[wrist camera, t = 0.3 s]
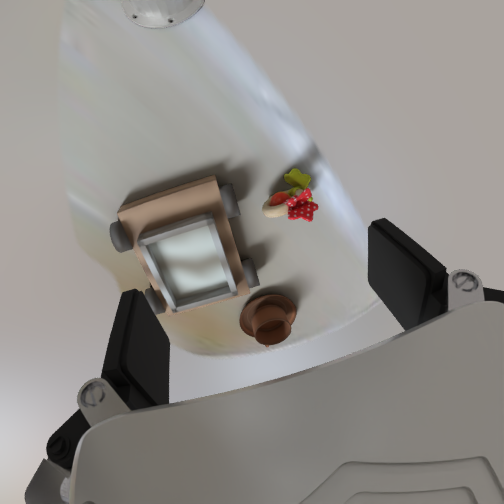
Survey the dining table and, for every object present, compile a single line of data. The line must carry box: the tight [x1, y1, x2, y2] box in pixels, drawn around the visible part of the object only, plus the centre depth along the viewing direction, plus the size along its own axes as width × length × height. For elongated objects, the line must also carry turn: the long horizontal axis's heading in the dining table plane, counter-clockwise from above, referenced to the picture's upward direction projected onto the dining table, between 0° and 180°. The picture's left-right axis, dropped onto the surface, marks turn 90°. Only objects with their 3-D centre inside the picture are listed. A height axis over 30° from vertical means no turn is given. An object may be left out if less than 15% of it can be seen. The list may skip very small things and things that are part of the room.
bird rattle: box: [262, 168, 318, 222], centre depth 43 cm, size 6×11×9 cm
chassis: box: [110, 175, 260, 316], centre depth 47 cm, size 22×20×6 cm
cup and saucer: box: [240, 295, 296, 347], centre depth 58 cm, size 12×12×6 cm
